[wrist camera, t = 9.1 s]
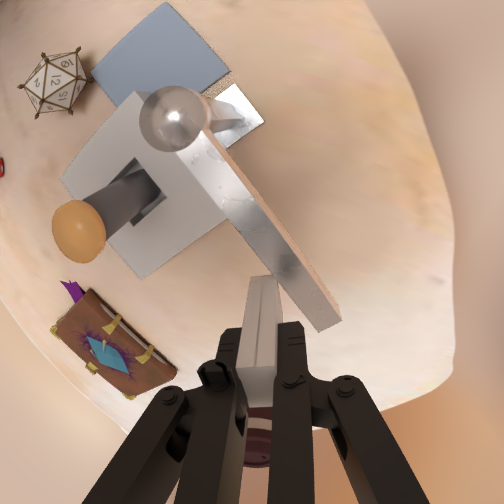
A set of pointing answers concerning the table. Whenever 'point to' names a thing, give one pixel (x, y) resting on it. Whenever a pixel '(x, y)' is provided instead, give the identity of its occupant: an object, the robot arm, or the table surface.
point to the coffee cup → (258, 437)
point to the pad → (158, 58)
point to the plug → (101, 215)
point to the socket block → (163, 174)
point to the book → (110, 345)
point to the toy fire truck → (1, 168)
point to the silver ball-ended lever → (234, 195)
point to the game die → (56, 82)
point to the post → (232, 116)
